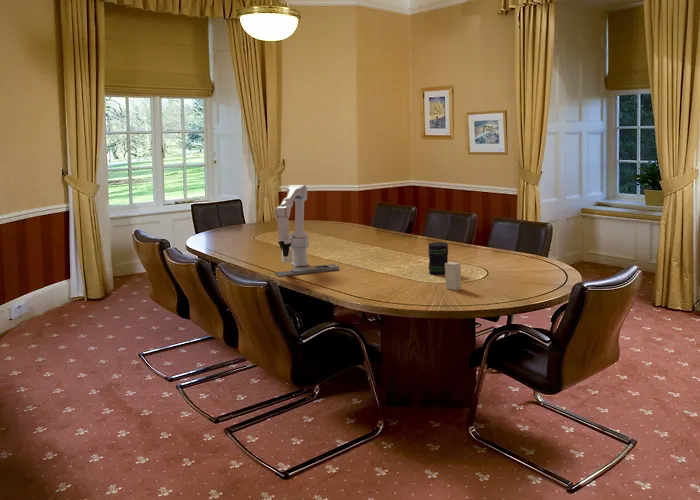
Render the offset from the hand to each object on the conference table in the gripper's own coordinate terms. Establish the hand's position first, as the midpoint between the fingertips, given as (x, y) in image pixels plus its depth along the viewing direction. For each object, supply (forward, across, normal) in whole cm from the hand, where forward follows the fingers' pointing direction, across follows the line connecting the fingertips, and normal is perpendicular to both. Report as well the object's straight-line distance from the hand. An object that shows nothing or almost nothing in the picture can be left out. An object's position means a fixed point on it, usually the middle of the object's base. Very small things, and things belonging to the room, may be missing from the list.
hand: (285, 255), depth 357 cm
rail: (+10, +1, -16) cm, 18 cm away
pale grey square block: (+3, 0, -1) cm, 3 cm away
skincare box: (+10, -63, -66) cm, 92 cm away
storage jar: (+10, -31, -72) cm, 79 cm away
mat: (+10, 0, 0) cm, 10 cm away
